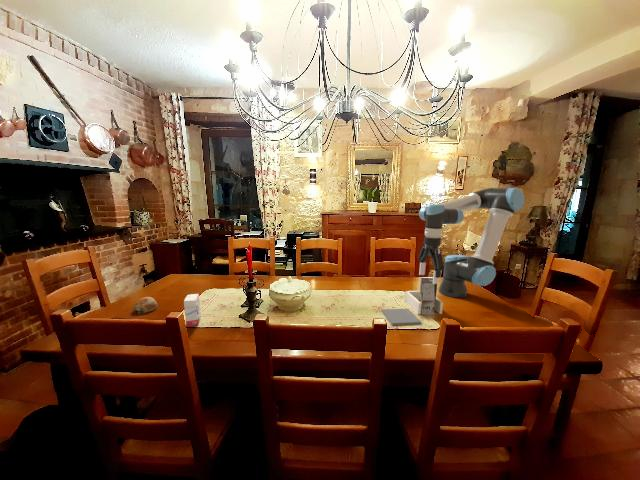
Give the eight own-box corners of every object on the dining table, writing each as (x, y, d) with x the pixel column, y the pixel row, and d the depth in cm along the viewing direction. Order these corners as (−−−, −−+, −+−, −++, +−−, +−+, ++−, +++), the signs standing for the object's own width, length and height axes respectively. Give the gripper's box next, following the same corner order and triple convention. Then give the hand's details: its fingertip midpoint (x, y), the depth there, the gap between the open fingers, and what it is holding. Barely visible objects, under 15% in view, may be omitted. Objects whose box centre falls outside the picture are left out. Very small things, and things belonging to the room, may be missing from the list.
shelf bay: (426, 300, 146) (426, 290, 145) (441, 313, 130) (443, 302, 129) (404, 301, 145) (405, 291, 144) (417, 314, 129) (418, 303, 128)
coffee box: (434, 315, 129) (437, 283, 126) (420, 314, 130) (423, 282, 127) (430, 307, 137) (433, 277, 135) (417, 306, 139) (420, 277, 136)
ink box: (198, 325, 116) (196, 300, 114) (185, 327, 115) (183, 301, 113) (201, 316, 124) (199, 293, 122) (189, 318, 123) (187, 294, 121)
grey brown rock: (158, 316, 132) (164, 300, 133) (136, 315, 123) (143, 298, 125) (148, 311, 137) (154, 296, 139) (127, 309, 129) (133, 293, 130)
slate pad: (408, 310, 134) (408, 308, 134) (421, 323, 120) (421, 321, 120) (381, 311, 132) (381, 309, 132) (391, 325, 119) (391, 323, 118)
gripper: (413, 232, 139) (410, 271, 142) (439, 241, 114) (434, 288, 118) (427, 232, 139) (423, 271, 143) (455, 241, 115) (450, 287, 119)
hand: (428, 279), depth 130 cm, fingers open, 13 cm apart
